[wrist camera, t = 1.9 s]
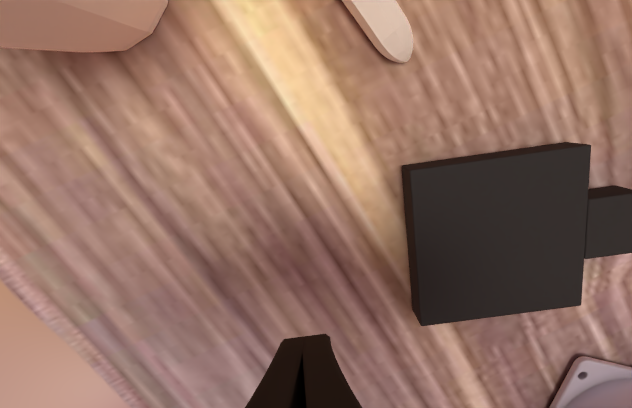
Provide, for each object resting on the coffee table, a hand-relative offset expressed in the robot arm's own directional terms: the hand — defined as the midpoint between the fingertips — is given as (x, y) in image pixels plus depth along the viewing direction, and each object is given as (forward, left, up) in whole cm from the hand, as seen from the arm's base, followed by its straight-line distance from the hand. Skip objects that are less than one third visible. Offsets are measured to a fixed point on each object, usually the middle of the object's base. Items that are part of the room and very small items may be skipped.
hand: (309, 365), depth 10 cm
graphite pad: (+4, -9, -8) cm, 13 cm away
